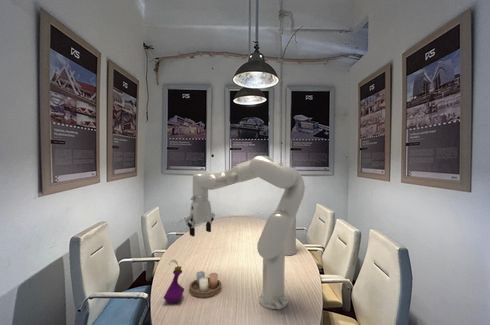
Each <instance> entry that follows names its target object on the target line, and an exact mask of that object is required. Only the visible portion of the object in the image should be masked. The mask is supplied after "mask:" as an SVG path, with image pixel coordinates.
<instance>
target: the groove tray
mask: <svg viewBox="0 0 490 325" xmlns="http://www.w3.org/2000/svg"><path fill="white" fill-rule="evenodd" d="M205 277H206V278H208V292H199V287H197V278H196V279H195V280H193V281H191V282H190V284H189V285H188V286H189V287H188V288H189V294H190V296H192V297H194V298H197V299H209V298H213V297H216V296H218V293H219V292H222V282H221V280H219V279H218V287H217V288H216V289H210V288H209V277H207V276H205ZM219 294H220V293H219ZM215 295H216V296H215Z"/></svg>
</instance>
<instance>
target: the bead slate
mask: <svg viewBox="0 0 490 325" xmlns="http://www.w3.org/2000/svg"><path fill="white" fill-rule="evenodd" d="M205 274H206V273H205V271H203V270H200V271H197V272H196V279H197V287H199V279H200V278H203V277H206V275H205Z"/></svg>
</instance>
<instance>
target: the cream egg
mask: <svg viewBox="0 0 490 325" xmlns="http://www.w3.org/2000/svg"><path fill="white" fill-rule="evenodd" d="M206 277H207V276H205V277H203V278H200V279H199V292H208V278H206Z"/></svg>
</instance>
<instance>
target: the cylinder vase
mask: <svg viewBox="0 0 490 325" xmlns="http://www.w3.org/2000/svg"><path fill="white" fill-rule="evenodd" d="M285 240H286V247H285V257H286V256H294V255H295V254H296V252H297V215H296V216H295V219H294V222H293V225H292V227H291V228H290V230H289V232H288V234H287V236H286V239H285Z"/></svg>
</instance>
